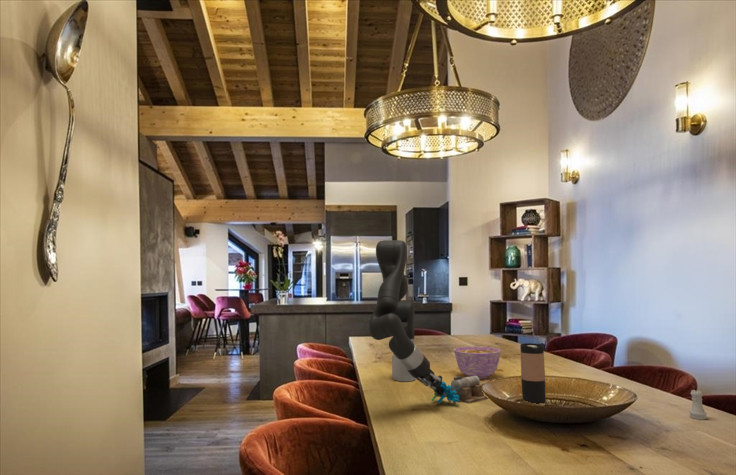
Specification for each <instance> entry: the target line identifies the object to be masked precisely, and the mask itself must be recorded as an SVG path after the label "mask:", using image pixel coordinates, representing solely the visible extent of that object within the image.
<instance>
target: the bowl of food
mask: <svg viewBox="0 0 736 475" xmlns="http://www.w3.org/2000/svg"><path fill="white" fill-rule="evenodd" d="M501 351H502V350H501V349H499V348H496V347H490V346H459V347H455V348H453V352H454V357H455V360H456V364H457V368H458V369H459V371H460V372H461V373H462V374H463V375H465V376H467V377H471V376H477V377H478V378H479V380H482V379H483V380H485V379H487V378H488V377H489V376H492V375H494V374H495V373H496V372H497V370H498V367H499V362H500V359H501V358H500V357H501Z"/></svg>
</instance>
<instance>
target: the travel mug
mask: <svg viewBox="0 0 736 475" xmlns="http://www.w3.org/2000/svg"><path fill="white" fill-rule="evenodd" d="M544 349H545V348H544V344H541V343H533V342H532V343H531V342H529V343H525V342H524V343H521V344H520V371H521V372H520V373H521V374H520V378H521V379H520V380H521V393H522V400H523V399H524V400H525V401H528V402H531V403H536V404H539V403H545V404H546V370H545V367H546V365H545V352H544V351H545V350H544Z"/></svg>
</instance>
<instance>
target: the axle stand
mask: <svg viewBox="0 0 736 475" xmlns="http://www.w3.org/2000/svg"><path fill="white" fill-rule="evenodd" d="M480 383H481V379H479V378H478V377H477V376H471V377H468V376H467V377H462V376H460V375H458V376H454V377H453V379H452V380H451V383H450V386H451V387H452V388H451V390H452V391H453V390H455V391H456V392H457V393H456V394H455V395H459V397H460V398H459V401H458V402H462V403H466V404H472V403H476V402H481V401H485V400H488V399H489V397H488V398H487V397H486V396H487V395H485V392H484V393H483V392H482V390H481V385H482V384H480Z"/></svg>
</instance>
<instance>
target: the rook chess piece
mask: <svg viewBox="0 0 736 475" xmlns="http://www.w3.org/2000/svg"><path fill="white" fill-rule="evenodd" d="M690 395H691V400H692V401H691V402H692V403H691V408H690V410H689V414H688V415H689V417H690V418H691V419H694V420H698V421H699V420H700V421H701V420H703V421H704V420H706V419H708V417H707V412H706V411H705V409H704V406H703V398H702V397H703V396H704V394H703V393H702V390H699V389H697V390H695V389H691V392H690Z"/></svg>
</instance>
